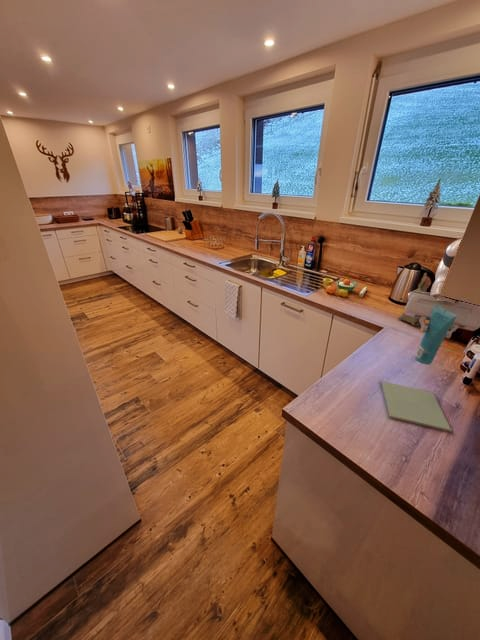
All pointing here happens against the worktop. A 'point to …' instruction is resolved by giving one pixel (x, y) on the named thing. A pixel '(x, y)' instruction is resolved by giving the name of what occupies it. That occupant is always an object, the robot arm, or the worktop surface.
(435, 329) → the tube
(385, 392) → the mat
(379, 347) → the worktop surface
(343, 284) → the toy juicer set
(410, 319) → the pouch
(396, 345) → the worktop surface
